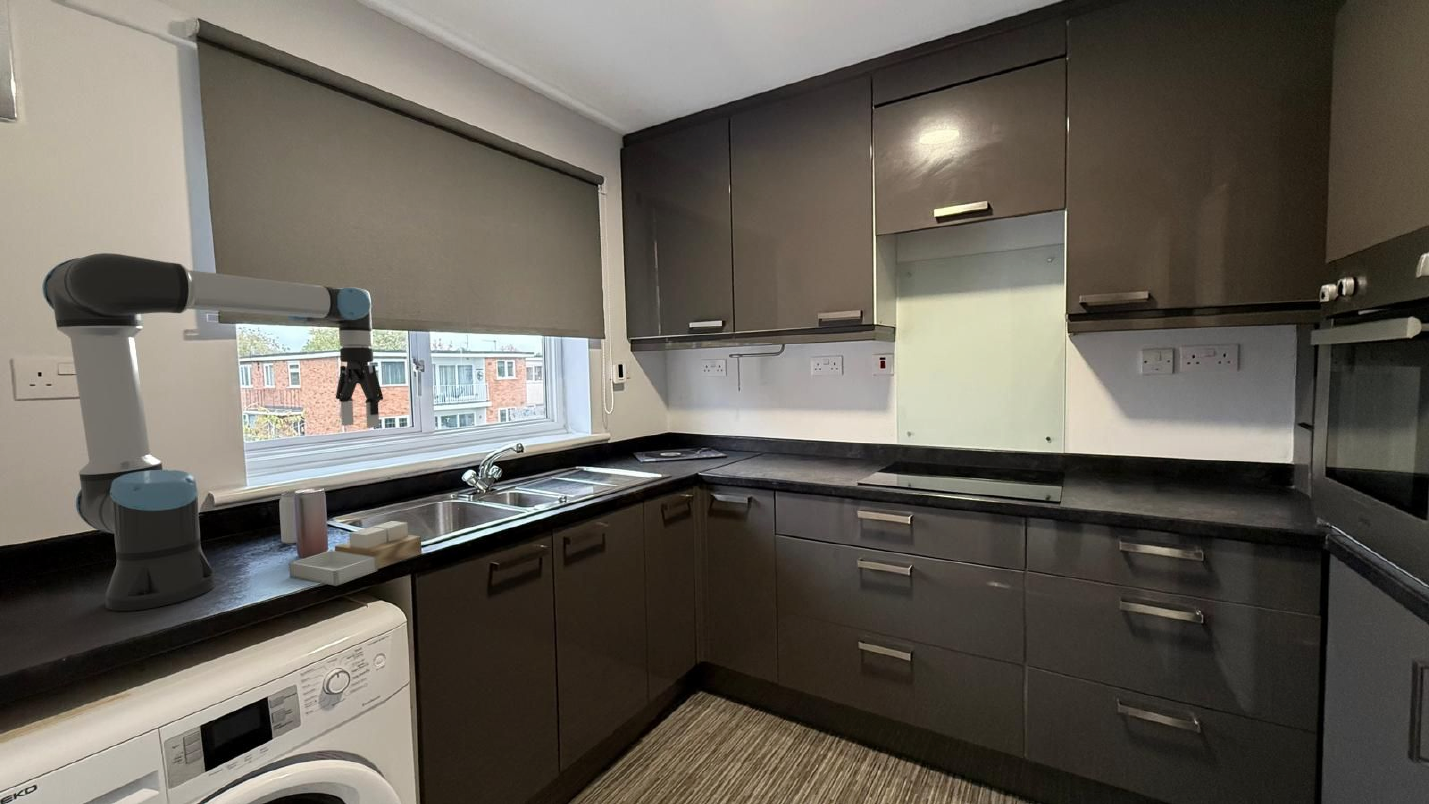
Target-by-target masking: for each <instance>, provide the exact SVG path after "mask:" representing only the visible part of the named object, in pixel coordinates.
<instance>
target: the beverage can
mask: <svg viewBox="0 0 1429 804" xmlns="http://www.w3.org/2000/svg"><path fill="white" fill-rule="evenodd" d="M294 492H295V495H294V507H295V524H296V541H297V543H296V554H297V555H298V557H300V558H302V559H304V558H307V557H310V556H314V555H317V554H320V553H324V552H327V551H329V536H328V535H329V534H328V519H327V518H328V517H327V501H326V492H325V489H324V487H314V488H313V487H309V488H304V489H298V490H295V491H294Z"/></svg>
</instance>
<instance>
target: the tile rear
mask: <svg viewBox="0 0 1429 804" xmlns="http://www.w3.org/2000/svg"><path fill="white" fill-rule="evenodd" d="M371 527H374V528H382V529H386V536H387V541H388V542H389V541H392V540H395V539H399V538H402V537H405V536H408V535H409V530H408V529H409V528H408V522H405V521H404V522H403V521H394V520H391V521H387V522H384V523H380V524H377V525H373V526H371Z"/></svg>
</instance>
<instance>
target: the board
mask: <svg viewBox="0 0 1429 804" xmlns="http://www.w3.org/2000/svg"><path fill="white" fill-rule="evenodd" d="M334 550H335V551H341V552H348V553H354V554H361V555H367V556H374V557H377V570H380V569H382V568H384V567H387V566H390V565H393V564H395V563H398V562H401V561H402V562H403V561H404V560H407V559H410V558H413V557H415V556H419V555H421V554H423V553H422V536H420V535H413V534H408V536H405V537H402V538H399V539H395V540H392V541H389V542H388V541H387V542H386V543H383V544H380V545H376V546H373V547H370V548H367V549H364V548H358V547H351V546H350V541H347V542H345V543H343V542H342V543H341V544H338V545H334Z"/></svg>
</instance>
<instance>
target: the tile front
mask: <svg viewBox="0 0 1429 804" xmlns="http://www.w3.org/2000/svg"><path fill="white" fill-rule="evenodd" d="M348 534H349V542H350V546H351V547H358V548H364V549H367V548H370V547H373V546H376V545H380V544H383V543H386V542H387V536H386V529H382V528H374V527H372V526H370V527H366V528H362V529H359V530H354V531H351V532H349V533H348Z"/></svg>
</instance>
